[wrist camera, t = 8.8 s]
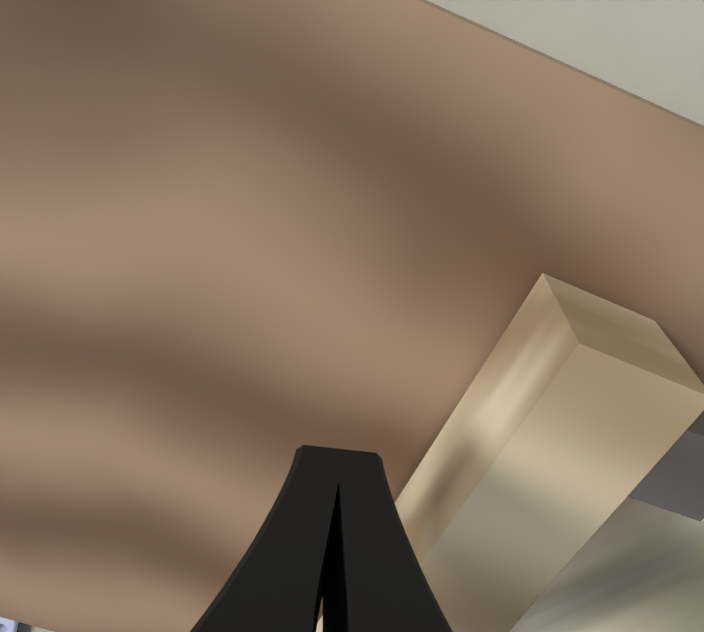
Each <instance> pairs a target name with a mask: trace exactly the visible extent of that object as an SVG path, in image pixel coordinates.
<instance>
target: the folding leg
mask: <svg viewBox="0 0 704 632" xmlns="http://www.w3.org/2000/svg"><path fill="white" fill-rule="evenodd" d="M703 411H704V384H703V383H702V382H701V380H700V379H699V378H698V377H697V375H696V374H695V373H694V371H693V370H692V369H691V367H690V366H689V365H688V363H687V362H686V361H685V360H684V358H683V357H682V356H681V354H680V353H679V352H678V350H677V349H676V348H675V346H674V345H673V344H672V342H671V341H670V340H669V339H668V337H667V336H666V335H665V333H664V332H663V331H662V329H661V328H660V327H659V325H658V324H657V323H656V322H655V321H654V320H652V319H650V318H647V317H645V316H643V315H640V314H638V313H636V312H633V311H631V310H629V309H626V308H624V307H621V306H619V305H617V304H614V303H612V302H610V301H607V300H605V299H603V298H600V297H598V296H596V295H593V294H591V293H589V292H586V291H584V290H582V289H579V288H577V287H574V286H572V285H570V284H567V283H565V282H563V281H560V280H558V279H556V278H553V277H551V276H549V275H546V274H544V273H542V274H541V276H540V278H539V279H538V281H537V282H536V284H535V285H534V287H533V288H532V290H531V292H530V293H529V295H528V296H527V298H526V299H525V301H524V302H523V304H522V306H521V307H520V309H519V310H518V312H517V313H516V315H515V316H514V318H513V320H512V321H511V323H510V324H509V326H508V327H507V329H506V331H505V332H504V334H503V335H502V337H501V338H500V340H499V341H498V343H497V345H496V346H495V348H494V349H493V351H492V352H491V354H490V355H489V357H488V359H487V360H486V362H485V363H484V365H483V366H482V368H481V369H480V371H479V373H478V374H477V376H476V377H475V379H474V380H473V382H472V383H471V385H470V387H469V388H468V390H467V391H466V393H465V394H464V396H463V397H462V399H461V401H460V402H459V404H458V405H457V407H456V408H455V410H454V411H453V413H452V415H451V416H450V418H449V419H448V421H447V422H446V424H445V425H444V427H443V429H442V430H441V432H440V433H439V435H438V436H437V438H436V439H435V441H434V443H433V444H432V446H431V447H430V449H429V450H428V452H427V453H426V455H425V457H424V458H423V460H422V461H421V463H420V464H419V466H418V467H417V469H416V471H415V472H414V474H413V475H412V477H411V478H410V480H409V481H408V483H407V485H406V486H405V488H404V489H403V491H402V492H401V494H400V495H399V497H398V499H397V500H396V502H395V506H396V509H397V511H398V514H399V517H400V520H401V522H402V525H403V527H404V530H405V532H406V535H407V537H408V539H409V542H410V544H411V546H412V549H413V551H414V553H415V556H416V558H417V560H418V563H419V565H420V567H421V569H422V572H423V574H424V576H425V578H426V580H427V582H428V584H429V587H430V589H431V590H432V592H433V594H434V596H435V598H436V600H437V602H438V604H439V606H440V608H441V610H442V612H443V614H444V616H445V618H446V620H447V622H448V624H449V626H450V627H451V629H452V631H453V632H507V631H508V630H509V629H510V628H511V626H512V625H513V624H514V623H515V622H516V621H517V620H518V619H519V617H520V616H521V615H522V614H523V613H524V612H525V611H526V610H527V608H528V607H529V606H530V605H531V604H532V603H533V602H534V601H535V599H536V598H537V597H538V596H539V595H540V594H541V593H542V592H543V590H544V589H545V588H546V587H547V586H548V585H549V584H550V583H551V581H552V580H553V579H554V578H555V577H556V576H557V575H558V574H559V572H560V571H561V570H562V569H563V568H564V567H565V566H566V565H567V563H568V562H569V561H570V560H571V559H572V558H573V557H574V556H575V554H576V553H577V552H578V551H579V550H580V549H581V548H582V547H583V545H584V544H585V543H586V542H587V541H588V540H589V539H590V538H591V536H592V535H593V534H594V533H595V532H596V531H597V530H598V529H599V527H600V526H601V525H602V524H603V523H604V522H605V521H606V520H607V518H608V517H609V516H610V515H611V514H612V513H613V512H614V511H615V509H616V508H617V507H618V506H619V505H620V504H621V503H622V502H623V500H624V499H625V498H626V497H627V496H628V495H629V494H630V493H631V491H632V490H633V489H634V488H635V487H636V486H637V485H638V484H639V482H640V481H641V480H642V479H643V478H644V477H645V476H646V475H647V474H648V472H649V471H650V470H651V469H652V468H653V467H654V466H655V465H656V463H657V462H658V461H659V460H660V459H661V458H662V457H663V456H664V454H665V453H666V452H667V451H668V450H669V449H670V448H671V447H672V445H673V444H674V443H675V442H676V441H677V440H678V439H679V438H680V436H681V435H682V434H683V433H684V432H685V431H686V430H687V429H688V427H689V426H690V425H691V424H692V423H693V422H694V421H695V420H696V418H697V417H698V416H699V415H700V414H701V413H702V412H703ZM316 632H323V615H322V617H321V618H320V620H319V621H318V623H317V629H316Z"/></svg>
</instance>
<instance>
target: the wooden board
mask: <svg viewBox="0 0 704 632" xmlns="http://www.w3.org/2000/svg"><path fill="white" fill-rule="evenodd" d="M542 273H544V274H546V275H549V276H551V277H553V278H556V279H558V280H560V281H563V282H565V283H567V284H570V285H572V286H574V287H577V288H579V289H582V290H584V291H586V292H589V293H591V294H593V295H596V296H598V297H600V298H603V299H605V300H607V301H610V302H612V303H614V304H617V305H619V306H621V307H624V308H626V309H629V310H631V311H633V312H636V313H638V314H640V315H643V316H645V317H647V318H650V319H652V320H654V321H655V322H656V323H657V324H658V325H659V327H660V328H661V329H662V331H663V332H664V333H665V335H666V336H667V337H668V339H669V340H670V341H671V342H672V344H673V345H674V346H675V348H676V349H677V350H678V352H679V353H680V354H681V356H682V357H683V358H684V360H685V361H686V362H687V363H688V365H689V366H690V367H691V369H692V370H693V371H694V373H695V374H696V375H697V377H698V378H699V379H700V380H701V382H702V383H703V384H704V126H702V125H700V124H697V123H695V122H693V121H691V120H688V119H686V118H684V117H682V116H680V115H677V114H675V113H673V112H671V111H669V110H666V109H664V108H662V107H660V106H658V105H655V104H653V103H651V102H649V101H647V100H644V99H642V98H640V97H638V96H636V95H633V94H631V93H629V92H627V91H625V90H622V89H620V88H618V87H616V86H613V85H611V84H609V83H607V82H605V81H602V80H600V79H598V78H596V77H594V76H591V75H589V74H587V73H585V72H583V71H580V70H578V69H576V68H574V67H572V66H569V65H567V64H565V63H563V62H561V61H558V60H556V59H554V58H552V57H549V56H547V55H545V54H543V53H541V52H538V51H536V50H534V49H532V48H530V47H527V46H525V45H523V44H521V43H519V42H516V41H514V40H512V39H510V38H508V37H505V36H503V35H501V34H499V33H497V32H494V31H492V30H490V29H488V28H486V27H483V26H481V25H479V24H477V23H474V22H472V21H470V20H468V19H466V18H463V17H461V16H459V15H457V14H455V13H452V12H450V11H448V10H446V9H444V8H441V7H439V6H437V5H435V4H433V3H430V2H428V1H426V0H0V617H2V618H5V619H9V620H13V621H17V622H21V623H24V624H28V625H32V626H36V627H40V628H44V629H47V630H51V631H55V632H190V631H191V629H192V628H193V627H194V625H195V624H196V623H197V622H198V620H199V619H200V618H201V616H202V615H203V614H204V612H205V611H206V610H207V608H208V607H209V606H210V604H211V603H212V601H213V600H214V599H215V597H216V596H217V594H218V593H219V592H220V590H221V589H222V587H223V586H224V584H225V583H226V581H227V580H228V578H229V577H230V575H231V574H232V572H233V571H234V569H235V568H236V566H237V565H238V563H239V562H240V560H241V559H242V557H243V556H244V554H245V553H246V551H247V550H248V548H249V546H250V545H251V543H252V541H253V540H254V538H255V536H256V535H257V533H258V531H259V529H260V528H261V526H262V524H263V522H264V520H265V519H266V517H267V515H268V513H269V512H270V510H271V508H272V506H273V504H274V502H275V500H276V498H277V496H278V494H279V492H280V490H281V488H282V486H283V484H284V482H285V480H286V477H287V475H288V473H289V470H290V467H291V465H292V462H293V459H294V455H295V452H296V449H298V448H299V447H301V446H302V445H310V446H319V447H329V448H338V449H347V450H356V451H365V452H374V453H377V454H378V455H379V456H380V457H381V458H382V461H383V466H384V470H385V474H386V478H387V481H388V485H389V488H390V491H391V494H392V497H393V500H394V503H395V502H396V500H397V499H398V497H399V495H400V494H401V492H402V491H403V489H404V488H405V486H406V485H407V483H408V481H409V480H410V478H411V477H412V475H413V474H414V472H415V471H416V469H417V467H418V466H419V464H420V463H421V461H422V460H423V458H424V457H425V455H426V453H427V452H428V450H429V449H430V447H431V446H432V444H433V443H434V441H435V439H436V438H437V436H438V435H439V433H440V432H441V430H442V429H443V427H444V425H445V424H446V422H447V421H448V419H449V418H450V416H451V415H452V413H453V411H454V410H455V408H456V407H457V405H458V404H459V402H460V401H461V399H462V397H463V396H464V394H465V393H466V391H467V390H468V388H469V387H470V385H471V383H472V382H473V380H474V379H475V377H476V376H477V374H478V373H479V371H480V369H481V368H482V366H483V365H484V363H485V362H486V360H487V359H488V357H489V355H490V354H491V352H492V351H493V349H494V348H495V346H496V345H497V343H498V341H499V340H500V338H501V337H502V335H503V334H504V332H505V331H506V329H507V327H508V326H509V324H510V323H511V321H512V320H513V318H514V316H515V315H516V313H517V312H518V310H519V309H520V307H521V306H522V304H523V302H524V301H525V299H526V298H527V296H528V295H529V293H530V292H531V290H532V288H533V287H534V285H535V284H536V282H537V281H538V279H539V278H540V276H541V274H542ZM628 497H631V498H634V499H637V500H640V501H643V502H645V503H648V504H651V505H654V506H657V507H660V508H663V509H666V510H669V511H672V512H675V513H678V514H681V515H684V516H687V517H689V518H692V519H695V520H698V521H701V520H702V519H703V518H704V411H703V412H702V413H701V414H700V415H699V416H698V417H697V418H696V420H695V421H694V422H693V423H692V424H691V425H690V426H689V427H688V429H687V430H686V431H685V432H684V433H683V434H682V435H681V436H680V438H679V439H678V440H677V441H676V442H675V443H674V444H673V445H672V447H671V448H670V449H669V450H668V451H667V452H666V453H665V454H664V456H663V457H662V458H661V459H660V460H659V461H658V462H657V463H656V465H655V466H654V467H653V468H652V469H651V470H650V471H649V472H648V474H647V475H646V476H645V477H644V478H643V479H642V480H641V481H640V482H639V484H638V485H637V486H636V487H635V488H634V489H633V490H632V491H631V493H630V494H629V495H628ZM536 599H537V598H536ZM536 599H535V600H536ZM531 605H532V604H531ZM531 605H530V606H531ZM530 606H529V607H530ZM529 607H528V608H529ZM528 608H527V609H528ZM526 611H527V610H526ZM526 611H525V612H526ZM525 612H524V613H525ZM524 613H523V614H524ZM523 614H522V615H523ZM322 615H323V614H322V600H321V606H320V612H319V617H318V621H319V620H320V618H321V617H322ZM522 615H521V616H522ZM521 616H520V617H519V619H520V618H521ZM519 619H518V620H519ZM518 620H517V621H518ZM517 621H516V622H517ZM516 622H515V623H514V624H513V625H512V626H511V628H512V627H513V626H514V625H515V624H516ZM511 628H510V629H509V630H508V631H507V632H509V631H510V630H511Z"/></svg>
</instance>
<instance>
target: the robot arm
mask: <svg viewBox="0 0 704 632" xmlns="http://www.w3.org/2000/svg"><path fill="white" fill-rule="evenodd" d="M321 600H322V614H323V632H453V631H452V629H451V627H450V626H449V624H448V622H447V620H446V618H445V616H444V614H443V612H442V610H441V608H440V606H439V604H438V602H437V600H436V598H435V596H434V594H433V592H432V590H431V589H430V587H429V584H428V582H427V580H426V578H425V576H424V574H423V572H422V569H421V567H420V565H419V563H418V560H417V558H416V556H415V553H414V551H413V549H412V546H411V544H410V542H409V539H408V537H407V535H406V532H405V530H404V527H403V525H402V522H401V520H400V517H399V514H398V511H397V509H396V506H395V503H394V500H393V497H392V494H391V491H390V488H389V485H388V481H387V478H386V474H385V470H384V466H383V461H382V458H381V457H380V456H379V455H378V454H377V453H374V452H365V451H356V450H347V449H338V448H329V447H319V446H310V445H302V446H301V447H299V448H298V449H296V452H295V455H294V459H293V462H292V465H291V467H290V470H289V473H288V475H287V477H286V480H285V482H284V484H283V486H282V488H281V490H280V492H279V494H278V496H277V498H276V500H275V502H274V504H273V506H272V508H271V510H270V512H269V513H268V515H267V517H266V519H265V520H264V522H263V524H262V526H261V528H260V529H259V531H258V533H257V535H256V536H255V538H254V540H253V541H252V543H251V545H250V546H249V548H248V550H247V551H246V553H245V554H244V556H243V557H242V559H241V560H240V562H239V563H238V565H237V566H236V568H235V569H234V571H233V572H232V574H231V575H230V577H229V578H228V580H227V581H226V583H225V584H224V586H223V587H222V589H221V590H220V592H219V593H218V594H217V596H216V597H215V599H214V600H213V601H212V603H211V604H210V606H209V607H208V608H207V610H206V611H205V612H204V614H203V615H202V616H201V618H200V619H199V620H198V622H197V623H196V624H195V625H194V627H193V628H192V629H191V631H190V632H316V629H317V623H318V617H319V612H320V606H321ZM18 624H19V622H17V621H13V620H9V619H5V618H2V617H0V632H17V628H18Z"/></svg>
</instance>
